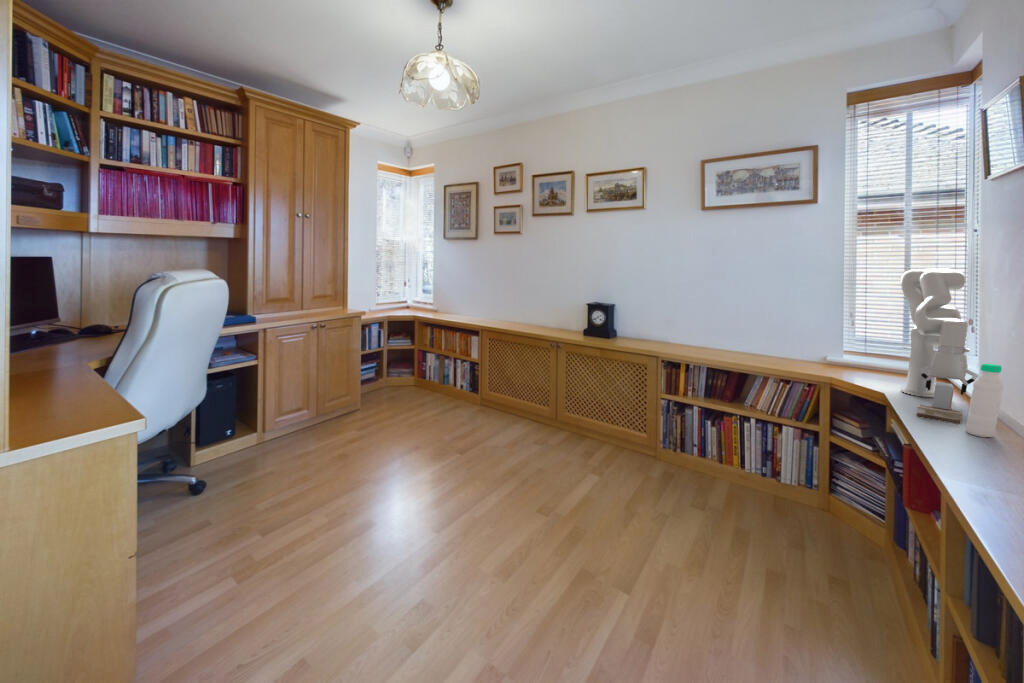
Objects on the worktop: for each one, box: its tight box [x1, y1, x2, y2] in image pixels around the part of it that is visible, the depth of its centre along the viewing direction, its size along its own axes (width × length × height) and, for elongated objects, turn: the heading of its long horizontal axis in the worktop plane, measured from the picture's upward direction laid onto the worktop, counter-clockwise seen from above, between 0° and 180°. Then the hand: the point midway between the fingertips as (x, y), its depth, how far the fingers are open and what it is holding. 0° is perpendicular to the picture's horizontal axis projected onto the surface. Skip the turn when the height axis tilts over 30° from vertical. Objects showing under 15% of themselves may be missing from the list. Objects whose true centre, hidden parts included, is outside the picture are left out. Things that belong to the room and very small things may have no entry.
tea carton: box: [931, 381, 955, 410], centre depth 180 cm, size 5×7×10 cm
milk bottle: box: [965, 363, 1004, 438], centre depth 151 cm, size 7×7×25 cm
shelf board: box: [916, 404, 963, 425], centre depth 171 cm, size 14×12×4 cm
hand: (945, 391), depth 178 cm, fingers open, 9 cm apart
